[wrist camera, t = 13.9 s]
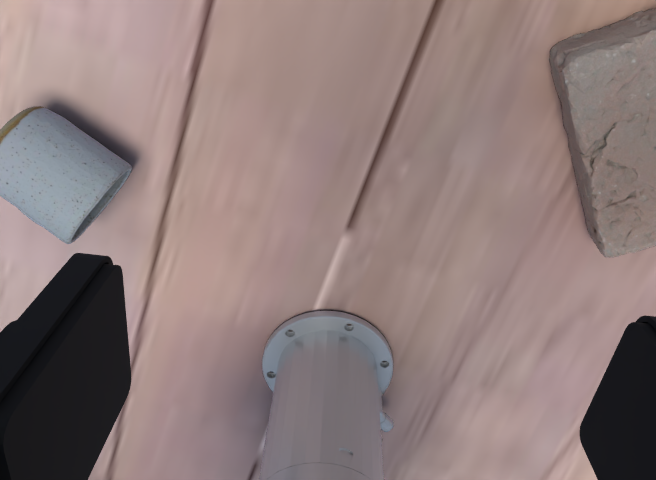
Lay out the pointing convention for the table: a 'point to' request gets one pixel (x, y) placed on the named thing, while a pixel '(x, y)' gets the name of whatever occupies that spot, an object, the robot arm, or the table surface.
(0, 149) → the ceramic mug
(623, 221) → the brick
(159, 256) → the table surface
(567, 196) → the table surface
